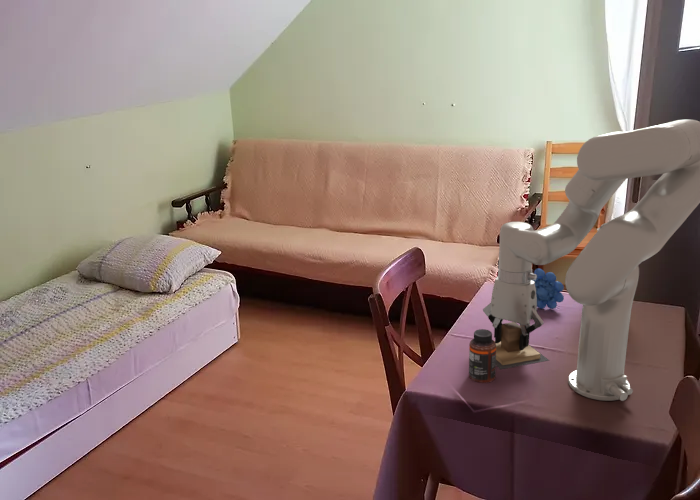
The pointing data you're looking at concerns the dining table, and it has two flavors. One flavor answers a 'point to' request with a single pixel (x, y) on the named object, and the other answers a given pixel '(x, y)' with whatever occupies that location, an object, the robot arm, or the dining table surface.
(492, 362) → the supplement bottle
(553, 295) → the blue flower shape
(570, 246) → the robot arm
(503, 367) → the dark gray mat
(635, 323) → the dining table surface
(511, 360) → the oak lid
